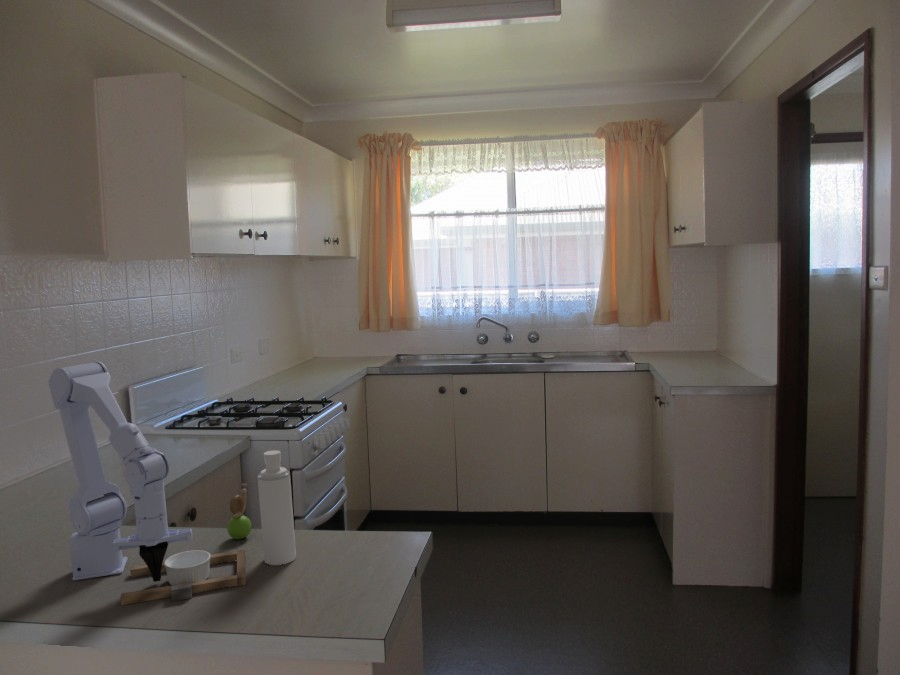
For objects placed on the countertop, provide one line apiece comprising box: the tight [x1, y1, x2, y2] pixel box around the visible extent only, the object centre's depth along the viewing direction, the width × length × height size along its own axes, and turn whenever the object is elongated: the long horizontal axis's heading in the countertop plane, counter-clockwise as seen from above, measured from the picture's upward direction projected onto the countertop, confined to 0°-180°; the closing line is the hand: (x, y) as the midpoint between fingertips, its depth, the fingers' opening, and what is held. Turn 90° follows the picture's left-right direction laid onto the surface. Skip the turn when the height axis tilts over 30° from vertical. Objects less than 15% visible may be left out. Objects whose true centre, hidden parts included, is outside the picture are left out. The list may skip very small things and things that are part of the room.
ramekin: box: [163, 549, 212, 586], centre depth 146 cm, size 9×9×4 cm
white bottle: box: [257, 450, 297, 566], centre depth 153 cm, size 7×7×25 cm
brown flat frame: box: [119, 549, 247, 606], centre depth 146 cm, size 23×18×2 cm
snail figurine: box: [226, 483, 253, 540], centre depth 166 cm, size 5×6×12 cm
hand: (157, 579), depth 144 cm, fingers closed
